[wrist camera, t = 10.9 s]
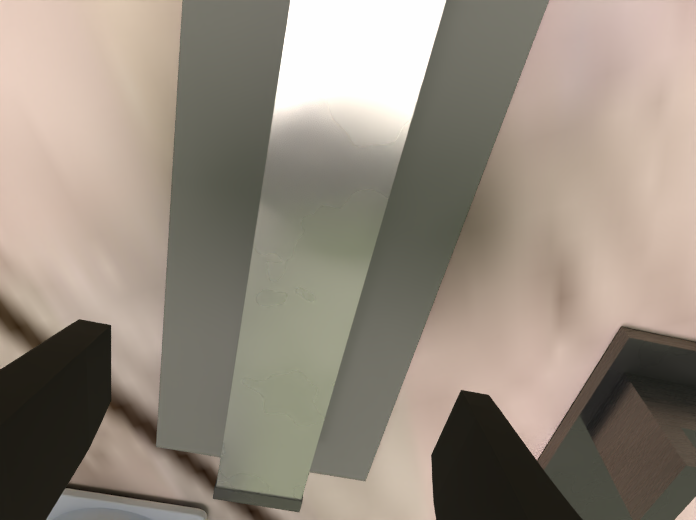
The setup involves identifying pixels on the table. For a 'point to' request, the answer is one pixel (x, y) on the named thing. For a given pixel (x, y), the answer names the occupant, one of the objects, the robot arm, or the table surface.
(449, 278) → the table surface
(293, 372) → the rail
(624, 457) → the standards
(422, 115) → the pad
